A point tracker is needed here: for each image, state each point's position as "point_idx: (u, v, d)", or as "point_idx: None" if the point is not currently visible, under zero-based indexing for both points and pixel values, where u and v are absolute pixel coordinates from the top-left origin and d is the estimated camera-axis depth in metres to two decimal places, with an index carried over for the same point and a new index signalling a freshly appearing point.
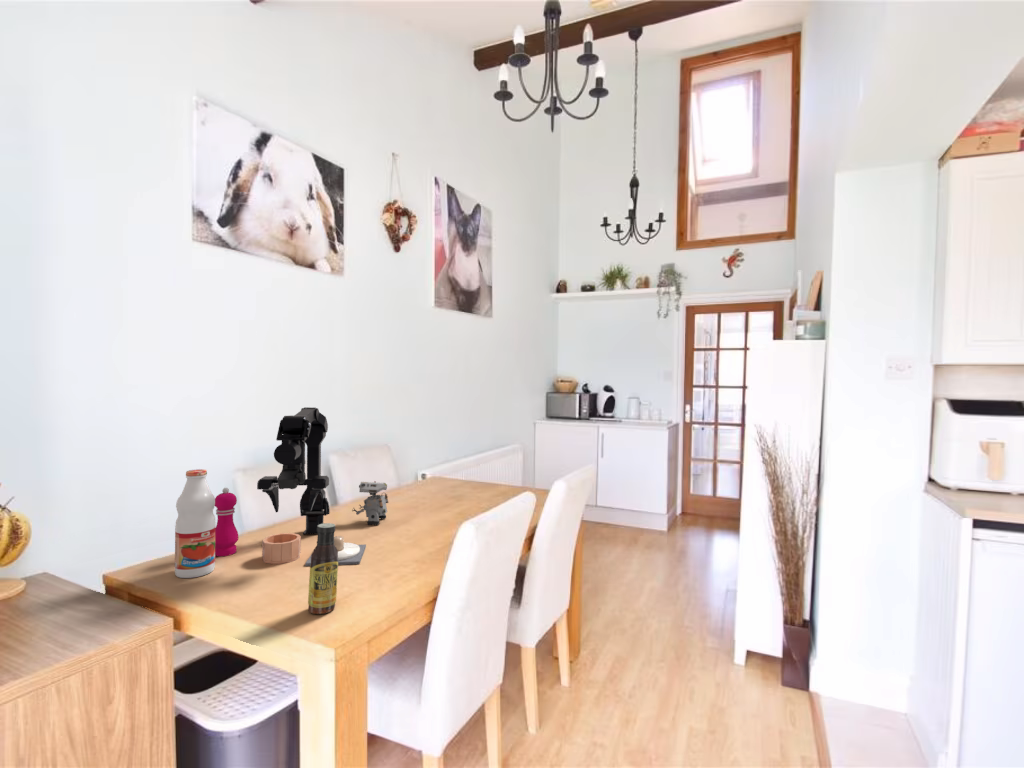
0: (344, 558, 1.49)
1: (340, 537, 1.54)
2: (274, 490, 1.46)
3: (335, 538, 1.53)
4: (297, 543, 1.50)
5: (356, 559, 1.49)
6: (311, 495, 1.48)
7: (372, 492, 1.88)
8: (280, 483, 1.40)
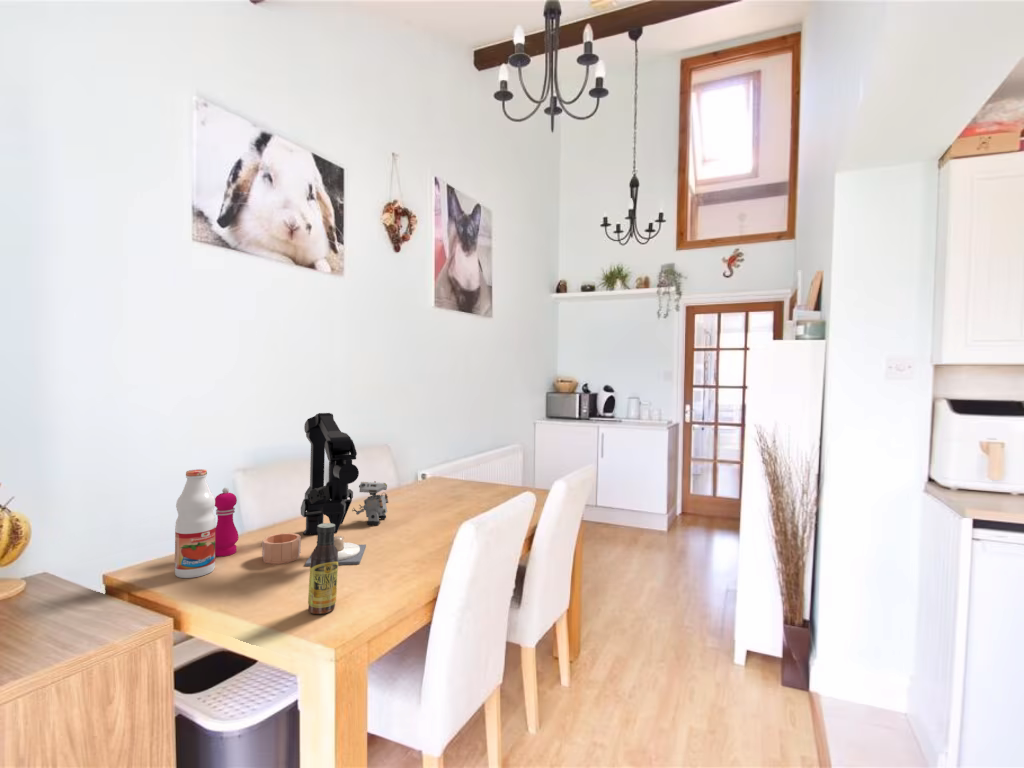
0: (344, 558, 1.49)
1: (340, 537, 1.54)
2: None
3: (335, 538, 1.53)
4: (297, 543, 1.50)
5: (356, 559, 1.49)
6: None
7: (372, 492, 1.88)
8: None
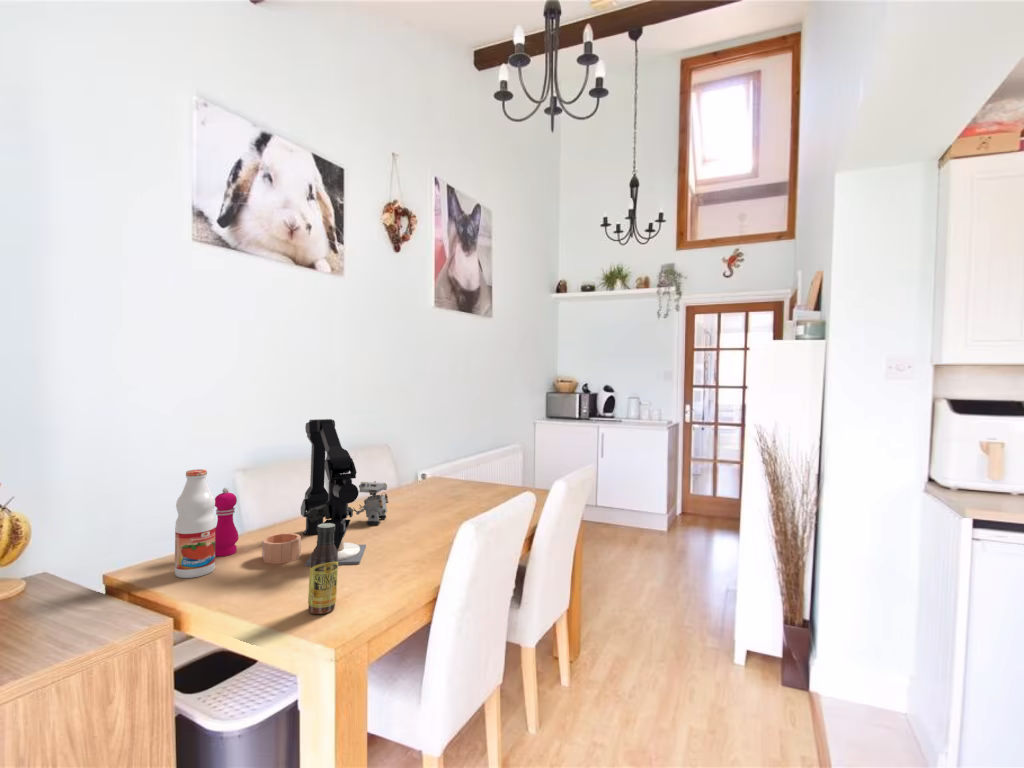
0: (344, 558, 1.49)
1: None
2: None
3: None
4: (297, 543, 1.50)
5: (356, 559, 1.49)
6: None
7: (372, 492, 1.88)
8: None
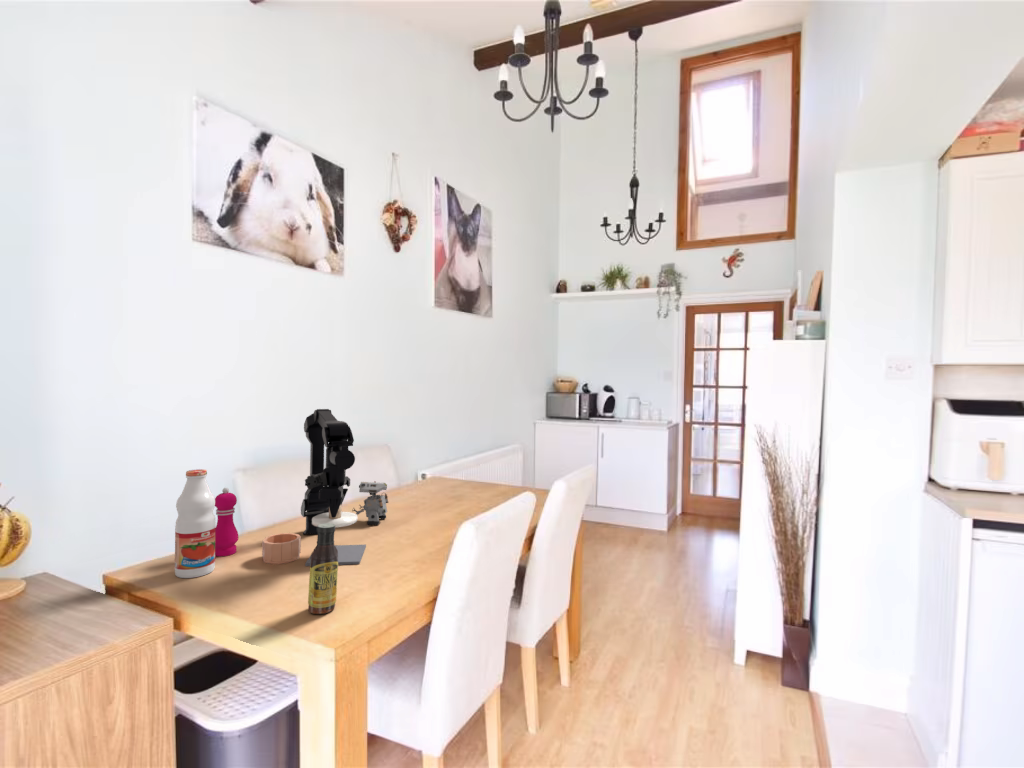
0: (342, 525, 1.48)
1: None
2: None
3: None
4: (297, 543, 1.50)
5: (356, 559, 1.49)
6: None
7: (372, 492, 1.88)
8: None
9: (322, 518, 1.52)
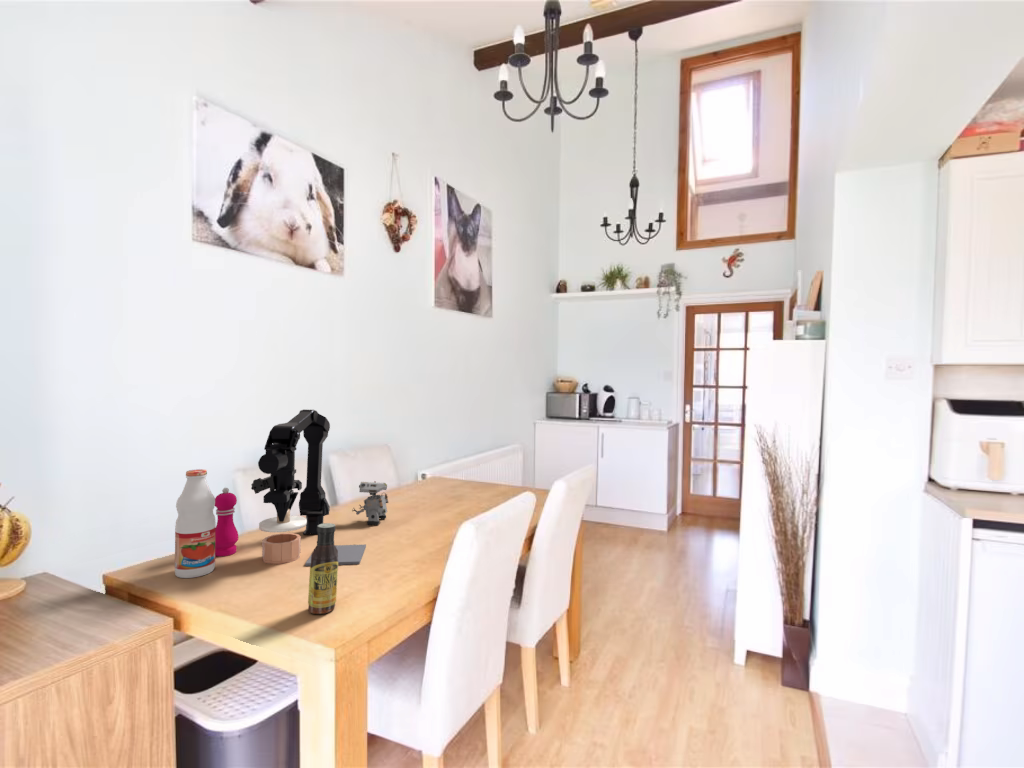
0: (288, 529, 1.46)
1: None
2: None
3: None
4: (297, 543, 1.50)
5: (356, 559, 1.49)
6: None
7: (372, 492, 1.88)
8: None
9: (270, 523, 1.49)
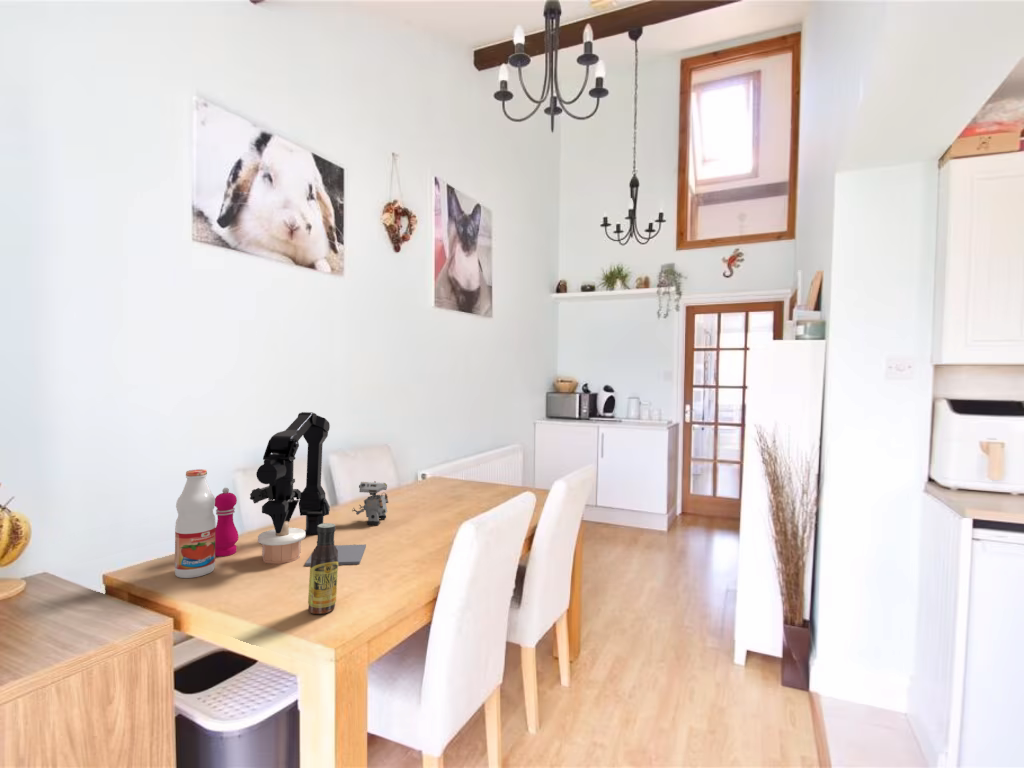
0: (287, 542, 1.46)
1: (285, 522, 1.52)
2: None
3: None
4: (297, 543, 1.50)
5: (356, 559, 1.49)
6: None
7: (372, 492, 1.88)
8: None
9: (268, 536, 1.49)
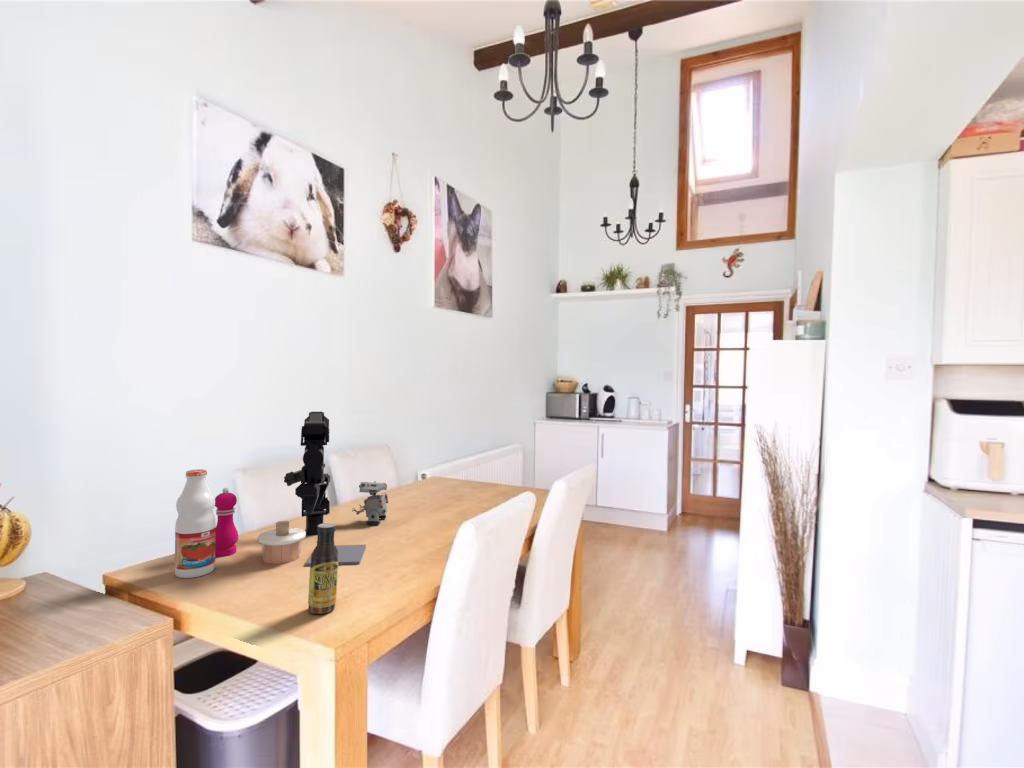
0: (287, 542, 1.46)
1: (285, 522, 1.52)
2: None
3: (280, 523, 1.51)
4: (297, 543, 1.50)
5: (356, 559, 1.49)
6: None
7: (372, 492, 1.88)
8: None
9: (268, 536, 1.49)
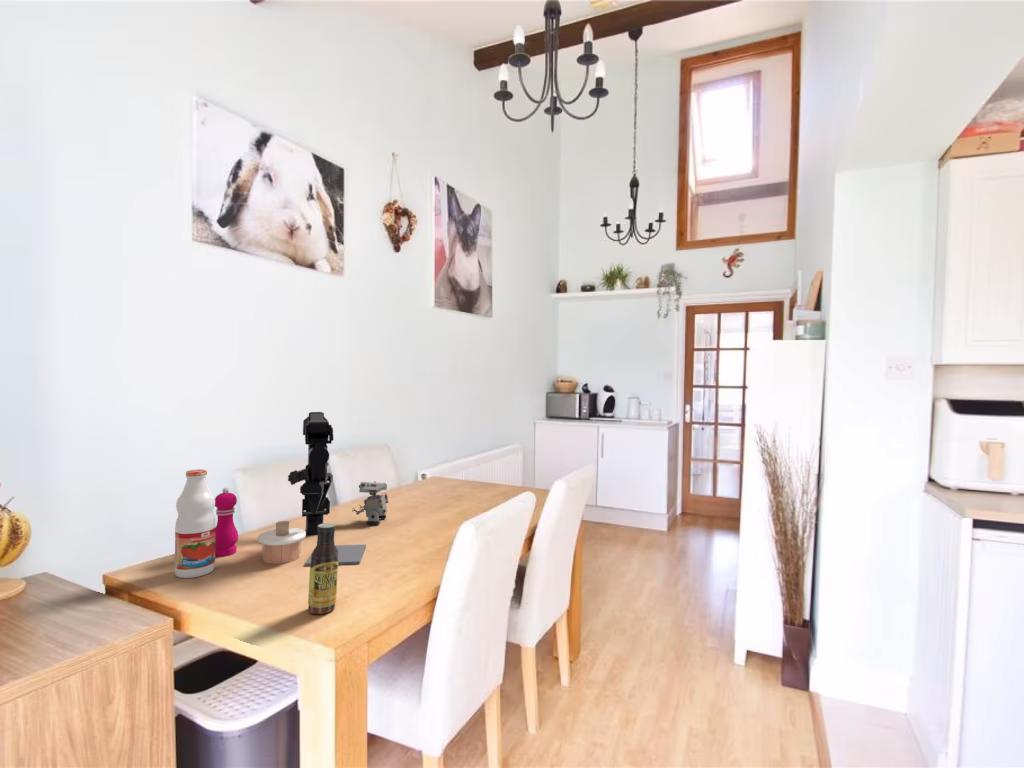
0: (287, 542, 1.46)
1: (285, 522, 1.52)
2: None
3: (280, 523, 1.51)
4: (297, 543, 1.50)
5: (356, 559, 1.49)
6: None
7: (372, 492, 1.88)
8: None
9: (268, 536, 1.49)
